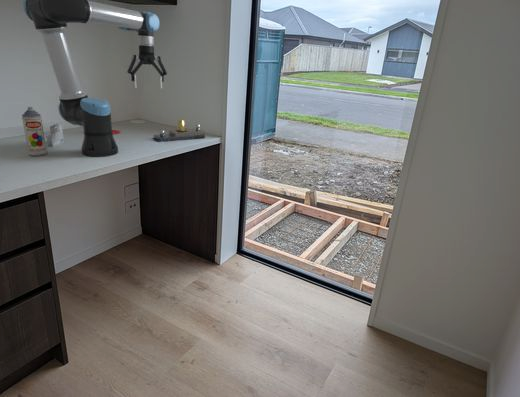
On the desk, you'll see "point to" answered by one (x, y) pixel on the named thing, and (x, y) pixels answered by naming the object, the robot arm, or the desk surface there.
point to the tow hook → (115, 131)
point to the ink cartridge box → (55, 135)
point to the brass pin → (181, 125)
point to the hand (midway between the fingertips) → (148, 88)
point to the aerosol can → (34, 133)
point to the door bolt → (181, 134)
